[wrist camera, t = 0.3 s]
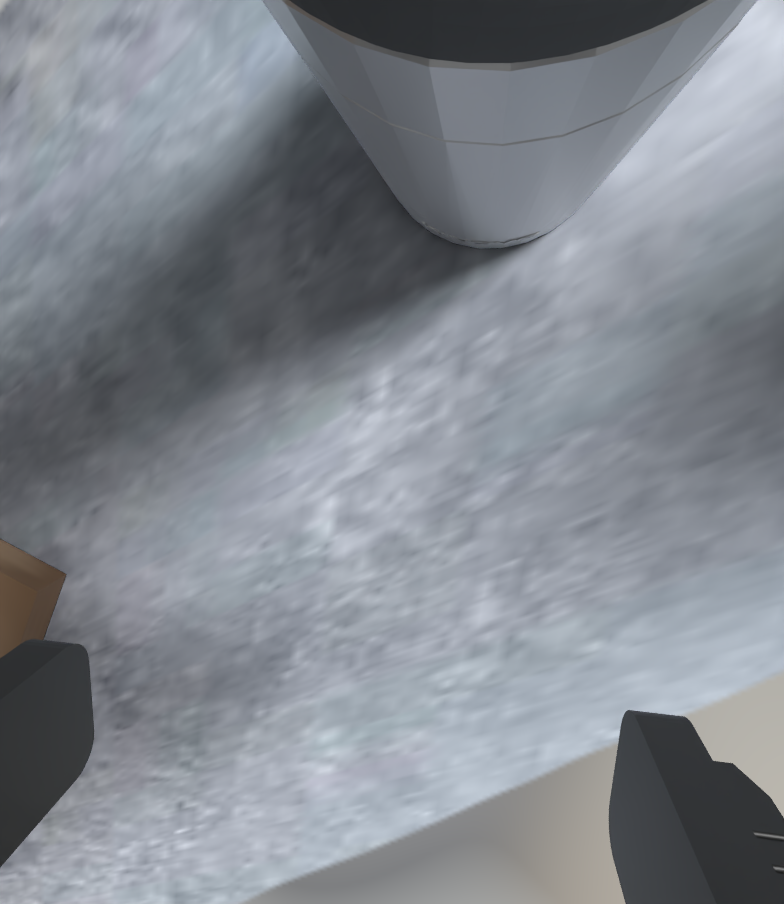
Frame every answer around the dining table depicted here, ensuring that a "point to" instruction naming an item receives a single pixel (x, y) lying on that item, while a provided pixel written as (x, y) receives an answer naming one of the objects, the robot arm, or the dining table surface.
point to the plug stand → (25, 596)
